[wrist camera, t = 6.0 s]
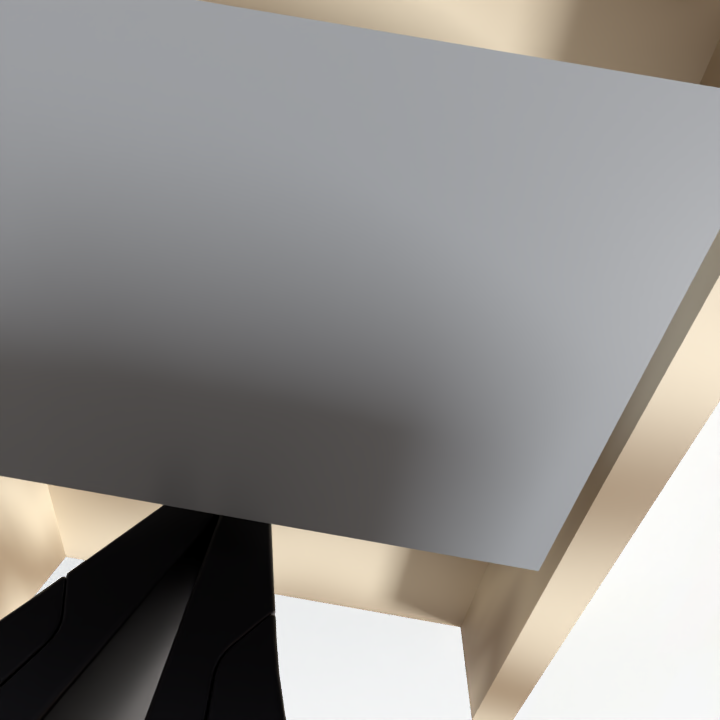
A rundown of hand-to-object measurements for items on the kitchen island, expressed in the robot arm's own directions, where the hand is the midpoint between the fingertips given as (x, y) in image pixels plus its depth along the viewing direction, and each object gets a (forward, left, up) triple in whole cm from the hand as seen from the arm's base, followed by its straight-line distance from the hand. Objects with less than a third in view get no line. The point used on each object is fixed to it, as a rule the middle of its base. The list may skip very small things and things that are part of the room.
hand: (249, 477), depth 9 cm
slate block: (+4, 0, -2) cm, 5 cm away
